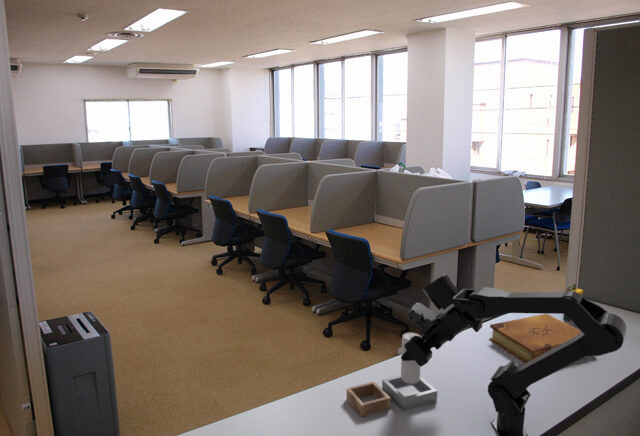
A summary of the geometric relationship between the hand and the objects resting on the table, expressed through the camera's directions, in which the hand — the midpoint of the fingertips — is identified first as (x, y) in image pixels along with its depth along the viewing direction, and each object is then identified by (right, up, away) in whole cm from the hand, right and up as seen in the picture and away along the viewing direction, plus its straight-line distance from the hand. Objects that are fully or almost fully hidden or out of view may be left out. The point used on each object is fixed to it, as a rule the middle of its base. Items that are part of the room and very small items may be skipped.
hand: (406, 354), depth 127 cm
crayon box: (+66, 0, +48) cm, 81 cm away
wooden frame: (-10, -12, -1) cm, 16 cm away
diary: (+46, -6, +28) cm, 54 cm away
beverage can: (+1, -7, +1) cm, 7 cm away
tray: (+1, -11, +2) cm, 11 cm away
